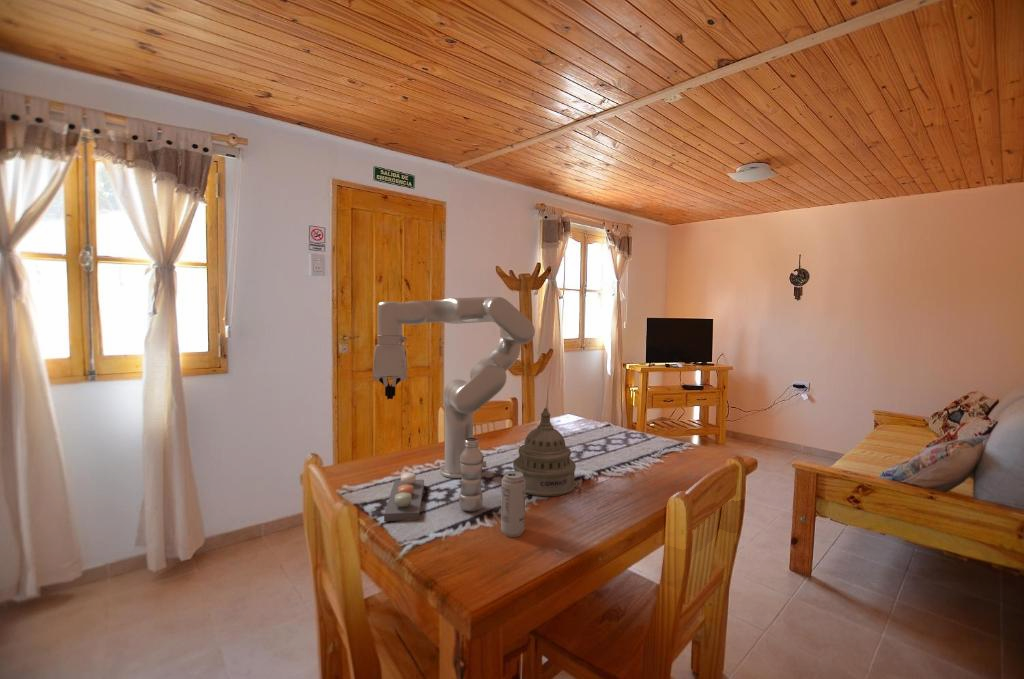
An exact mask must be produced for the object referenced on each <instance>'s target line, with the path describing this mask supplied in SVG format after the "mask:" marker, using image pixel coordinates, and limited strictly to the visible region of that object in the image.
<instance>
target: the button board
mask: <svg viewBox="0 0 1024 679" xmlns="http://www.w3.org/2000/svg"><path fill="white" fill-rule="evenodd" d="M401 485H405V484H402V483H401V479H399V480H397V479H395V480H394V482H393V485H392V488H391V491H390V493H389V494H390V495H389V498H388V501H387V503H386V507H385V510H384V512H383V521H384V522H395V521H396V522H397V521H398V522H399V521H416V520H417V521H419V520H420V515H421V509H422V508H421V507H422V502H423V501H422V500H423V494H424V489H425V479H416V482H415V483H413V484H409V485H413V486H414V494H413V495H412V496H411V504H410V505H408V506H396V505H395V495H396V494H398V487H399V486H401Z"/></svg>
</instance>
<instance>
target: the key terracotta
mask: <svg viewBox="0 0 1024 679" xmlns="http://www.w3.org/2000/svg"><path fill="white" fill-rule="evenodd" d="M399 493H410V494H411V496H412V495H413V494H414V486H413V485H401V486H399V487H398V494H399Z"/></svg>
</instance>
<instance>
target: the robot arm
mask: <svg viewBox="0 0 1024 679" xmlns="http://www.w3.org/2000/svg"><path fill="white" fill-rule="evenodd" d="M376 307H377V315H376V316H377V318H376V319H377V321H376V322H377V344H375V347H374V353H373V361H372V362H373V364H372V365H373V366H372V374H373V375H372V380H373V381H375V382H380V384H382V385H383V386H384V396H385V397H386V400H393V398H394V397H395V396H396V386H397V385H398V384H399V383H400V382H404V381H406V380H408V374H407V372H408V360H407V350H406V345H405V344H403V343H405V342H408V337H406V336H403V325H409V326H410V325H411V326H419V325H422V324H425V323H428V324H429V323H444V324H452V325H453V324H471V323H472V324H475V323H489V322H492V323H495V324H496V325H497V326H498V327H499V342H498V344H497V345H496V347H495V348H493V349H492V351H490V352H489V353H488V354H487V355H485V356H484V357H482V358H481V360H479V361H477V362H476V363H475V364H474V365H473V366H472V367H471V369H470V372H469V377H470V379H469V380H468V381H466V380H464V379H454V380H453V379H452V380H451V381H450V382H448V383H447V384H446V386H445V388H444V390H443V398H442V399H443V408H444V465H442V466H441V467H440V468H439V473H440V474H441V475H442V476H443V477H446V478H448V479H449V478H451V479H462V476H461V465H460V456H461V454H462V452H463V451H464V449H465V448H466V447H465V439H466V438H474V413H476V412H477V411H478V410H480V409H481V408H482V407H484V405H486V404H487V403H488V402H489V401H490V400H492V399H493V398H495V396H496V395H498V393H500V391H502V389H503V388H504V386H505V385H506V382H507V378H508V377H507V371H508V370H509V369H510V368H511V367H512V366H513V365H514V364H515V363H516V362H517V360H518V359H519V356H520V354H521V347H522V345H526V344H529V343H530V342H531V341H532V340H533V339H534V337H535V333H536V332H535V330H536V329H535V327H534V325H533V323H532V322H531V320H530V319H529V318H528V317H526V316H525V315H524V314H523V313H522V311H520V310H518V309H517V307H516V306H515V305H513V304H512V303H511V302H510V301H509V300H507V299H506V298H504V297H502V296H477V297H453V298H445V299H435V300H410V301H405V302H399V301H380V302H379V303H377V306H376ZM389 378H392V380H391V383H390V382H389ZM482 468H487V461H485V460H483V466H482Z"/></svg>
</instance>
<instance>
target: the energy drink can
mask: <svg viewBox="0 0 1024 679" xmlns="http://www.w3.org/2000/svg"><path fill="white" fill-rule="evenodd" d="M525 482H526V481H525V479H524V477H523V473H521V472H518V471H514V470H510V471H506V472H504V473H503V477H502V479H501V493H500V494H501V497H500V498H501V500H500V503H501V506H500V508H501V509H500V530H501V531H502V534H503V535H504V536H507V537H511V538H515V537H516V538H517V537H520V536H521V535H522V534H523V532H524V531H525V526H526V524H525V523H526V521H525V520H526V493H525Z"/></svg>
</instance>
